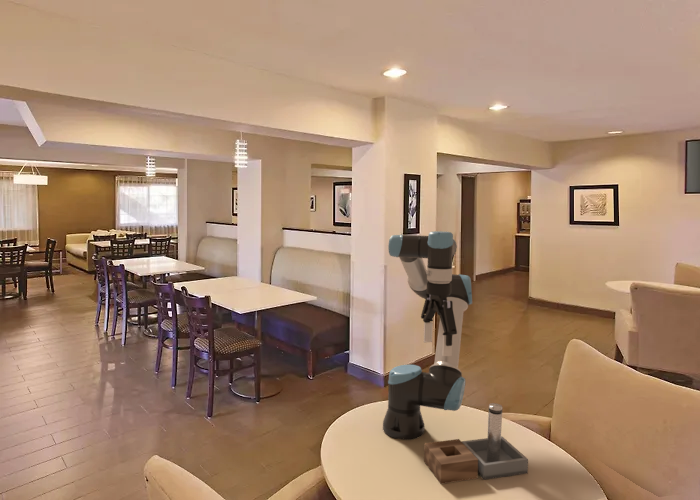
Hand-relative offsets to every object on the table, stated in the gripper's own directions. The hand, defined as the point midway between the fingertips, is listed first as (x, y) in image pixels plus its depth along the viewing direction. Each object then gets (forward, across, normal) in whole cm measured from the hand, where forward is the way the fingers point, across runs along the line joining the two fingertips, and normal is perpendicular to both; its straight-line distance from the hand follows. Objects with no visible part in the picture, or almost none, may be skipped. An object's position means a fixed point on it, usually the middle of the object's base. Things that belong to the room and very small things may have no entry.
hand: (436, 348), depth 138 cm
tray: (+37, +6, +18) cm, 41 cm away
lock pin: (+36, +6, +18) cm, 40 cm away
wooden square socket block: (+37, +6, +3) cm, 37 cm away
